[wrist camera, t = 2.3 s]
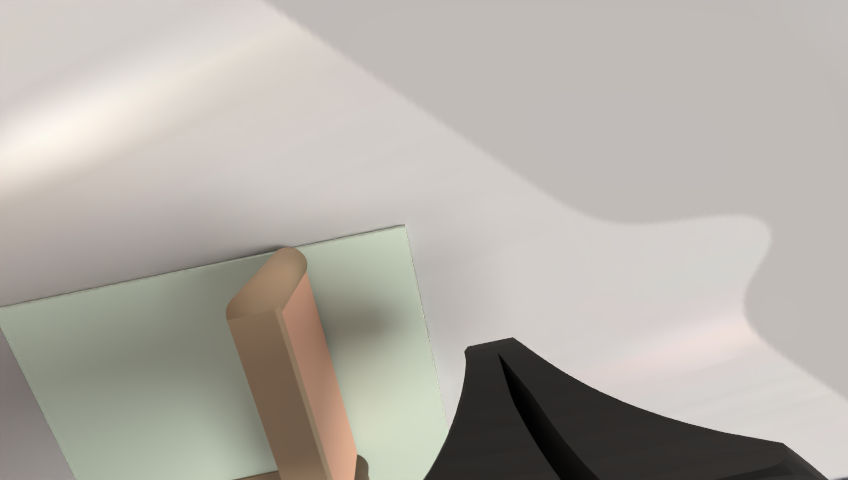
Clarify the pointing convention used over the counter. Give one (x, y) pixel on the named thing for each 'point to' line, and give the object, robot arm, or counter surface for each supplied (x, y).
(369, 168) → the counter surface
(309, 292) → the hinged panel
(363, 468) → the fence fixed
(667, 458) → the robot arm
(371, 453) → the card
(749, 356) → the counter surface
